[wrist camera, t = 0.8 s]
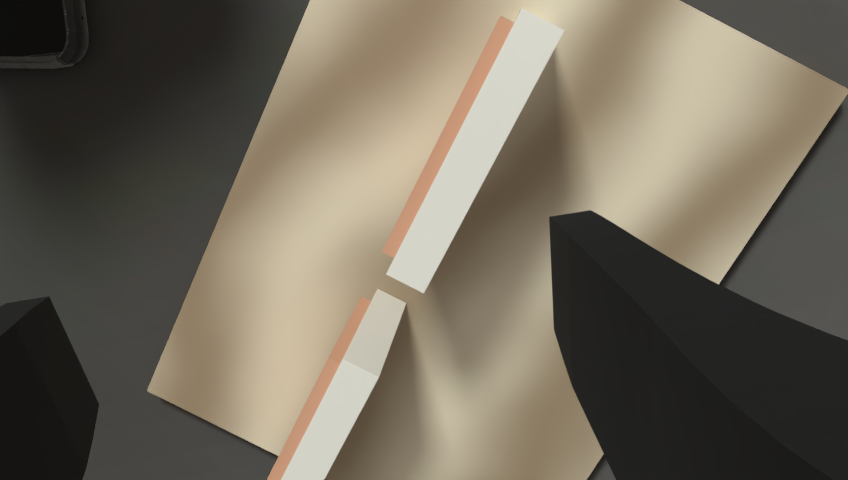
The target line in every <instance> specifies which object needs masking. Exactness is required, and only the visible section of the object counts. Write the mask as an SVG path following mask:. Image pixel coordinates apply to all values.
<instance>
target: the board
mask: <svg viewBox="0 0 848 480" xmlns="http://www.w3.org/2000/svg"><path fill="white" fill-rule="evenodd" d="M521 8H522V9H524V10H526V11H528V12H530V13H532V14H534V15H536V16H538V17H540V18H542V19H544V20H546V21H547V22H549V23H551V24H553V25H555V26H557V27H559V28H561V29H563V30H564V32H563V34H562V36H561V38H560V39H559V41H558V43H557V45H556V47H555V49H554V51H553V53H552V54H551V56H550V58H549V60H548V62H547V64H546V66H545V68H544V69H543V71H542V73H541V75H540V77H539V79H538V81H537V83H536V84H535V86H534V88H533V90H532V92H531V94H530V96H529V97H528V99H527V101H526V103H525V105H524V107H523V109H522V111H521V112H520V114H519V116H518V118H517V120H516V122H515V124H514V126H513V127H512V129H511V131H510V133H509V135H508V137H507V139H506V141H505V142H504V144H503V146H502V148H501V150H500V152H499V154H498V156H497V157H496V159H495V161H494V163H493V165H492V167H491V169H490V170H489V172H488V174H487V176H486V178H485V180H484V182H483V184H482V185H481V187H480V189H479V191H478V193H477V195H476V197H475V199H474V200H473V202H472V204H471V206H470V208H469V210H468V212H467V214H466V215H465V217H464V219H463V221H462V223H461V225H460V227H459V228H458V230H457V232H456V234H455V236H454V238H453V240H452V242H451V243H450V245H449V247H448V249H447V251H446V253H445V255H444V257H443V258H442V260H441V262H440V264H439V266H438V268H437V270H436V272H435V273H434V275H433V277H432V279H431V281H430V283H429V285H428V287H427V288H426V290H425V292H424V293H422V292H420V291H418V290H416V289H414V288H412V287H410V286H408V285H406V284H404V283H402V282H400V281H398V280H396V279H394V278H392V277H390V276H388V275H386V273H387V271H388V269H389V267H390V265H391V263H392V261H393V259H394V258H393V257H391V256H389V255H387V254H385V253H383V252H382V250H383V248H384V246H385V244H386V242H387V240H388V238H389V236H390V234H391V232H392V230H393V228H394V226H395V224H396V222H397V220H398V218H399V216H400V214H401V212H402V210H403V208H404V206H405V204H406V202H407V200H408V198H409V196H410V194H411V192H412V190H413V188H414V186H415V184H416V182H417V180H418V178H419V176H420V174H421V172H422V170H423V168H424V166H425V165H426V163H427V161H428V159H429V157H430V155H431V153H432V151H433V149H434V147H435V145H436V143H437V141H438V139H439V137H440V135H441V133H442V131H443V129H444V127H445V125H446V123H447V121H448V119H449V117H450V115H451V113H452V111H453V109H454V107H455V105H456V103H457V101H458V99H459V97H460V95H461V93H462V91H463V89H464V87H465V85H466V83H467V81H468V79H469V77H470V75H471V73H472V71H473V69H474V67H475V65H476V63H477V61H478V59H479V57H480V55H481V53H482V51H483V49H484V47H485V45H486V43H487V41H488V39H489V37H490V35H491V33H492V31H493V29H494V27H495V25H496V23H497V21H498V19H499V17H500V16H503V17H505V18H507V19H509V20H511V21H513V22H514V20H515V18H516V16H517V14H518V12H519V10H520V9H521ZM847 94H848V89H847V88H845V87H843V86H841V85H840V84H838V83H836V82H834V81H832V80H830V79H828V78H826V77H824V76H822V75H821V74H819V73H817V72H815V71H813V70H811V69H809V68H807V67H805V66H803V65H801V64H800V63H798V62H796V61H794V60H792V59H790V58H788V57H786V56H784V55H782V54H781V53H779V52H777V51H775V50H773V49H771V48H769V47H767V46H765V45H763V44H762V43H760V42H758V41H756V40H754V39H752V38H750V37H748V36H746V35H744V34H742V33H741V32H739V31H737V30H735V29H733V28H731V27H729V26H727V25H725V24H723V23H722V22H720V21H718V20H716V19H714V18H712V17H710V16H708V15H706V14H704V13H703V12H701V11H699V10H697V9H695V8H693V7H691V6H689V5H687V4H685V3H684V2H682V1H680V0H310V2H309V4H308V7H307V9H306V11H305V14H304V16H303V19H302V21H301V23H300V26H299V28H298V31H297V33H296V35H295V38H294V40H293V43H292V45H291V47H290V50H289V52H288V54H287V57H286V59H285V62H284V64H283V66H282V69H281V71H280V74H279V76H278V78H277V81H276V83H275V86H274V88H273V90H272V93H271V95H270V98H269V100H268V102H267V105H266V107H265V110H264V112H263V114H262V117H261V119H260V122H259V124H258V126H257V129H256V131H255V133H254V136H253V138H252V141H251V143H250V145H249V148H248V150H247V153H246V155H245V157H244V160H243V162H242V165H241V167H240V169H239V172H238V174H237V177H236V179H235V181H234V184H233V186H232V189H231V191H230V193H229V196H228V198H227V201H226V203H225V205H224V208H223V210H222V213H221V215H220V217H219V220H218V222H217V224H216V227H215V229H214V232H213V234H212V236H211V239H210V241H209V244H208V246H207V248H206V251H205V253H204V256H203V258H202V260H201V263H200V265H199V268H198V270H197V272H196V275H195V277H194V280H193V282H192V284H191V287H190V289H189V292H188V294H187V296H186V299H185V301H184V303H183V306H182V308H181V311H180V313H179V315H178V318H177V320H176V323H175V325H174V327H173V330H172V332H171V335H170V337H169V339H168V342H167V344H166V347H165V349H164V351H163V354H162V356H161V359H160V361H159V363H158V366H157V368H156V371H155V373H154V375H153V378H152V380H151V382H150V385H149V387H148V390H147V391H148V392H150V393H152V394H154V395H156V396H158V397H160V398H162V399H164V400H166V401H168V402H170V403H172V404H174V405H176V406H178V407H180V408H182V409H184V410H186V411H188V412H190V413H192V414H194V415H196V416H198V417H200V418H202V419H204V420H206V421H208V422H210V423H212V424H215V425H217V426H219V427H221V428H223V429H225V430H227V431H229V432H231V433H233V434H235V435H237V436H239V437H241V438H243V439H245V440H247V441H249V442H251V443H253V444H255V445H257V446H259V447H261V448H263V449H265V450H267V451H269V452H271V453H273V454H275V455H277V456H279V455H280V453H281V451H282V449H283V447H284V445H285V443H286V441H287V439H288V437H289V435H290V433H291V431H292V429H293V427H294V425H295V423H296V421H297V419H298V417H299V415H300V413H301V411H302V409H303V407H304V405H305V403H306V401H307V399H308V397H309V395H310V393H311V391H312V389H313V387H314V385H315V383H316V381H317V379H318V377H319V375H320V373H321V371H322V369H323V367H324V365H325V363H326V361H327V359H328V357H329V355H330V354H331V352H332V350H333V348H334V346H335V344H336V343H337V341H338V339H339V337H340V335H341V333H342V331H343V330H344V328H345V326H346V324H347V322H348V320H349V318H350V317H351V315H352V313H353V311H354V309H355V307H356V305H357V304H358V302H359V300H360V298H361V297H363V298H365V299H367V300H369V301H371V300H372V298H373V296H374V295H375V293H376V291H377V289H379V290H381V291H383V292H385V293H387V294H389V295H391V296H393V297H395V298H397V299H399V300H401V301H403V302H405V303H406V305H405V308H404V311H403V314H402V316H401V319H400V322H399V324H398V327H397V330H396V333H395V335H394V338H393V341H392V343H391V346H390V349H389V352H388V354H387V357H386V360H385V362H384V365H383V368H382V371H381V373H380V376H379V378H378V380H377V382H376V384H375V386H374V388H373V389H372V391H371V393H370V395H369V397H368V399H367V401H366V403H365V404H364V406H363V408H362V410H361V412H360V414H359V416H358V418H357V419H356V421H355V423H354V425H353V427H352V429H351V431H350V432H349V434H348V436H347V438H346V440H345V442H344V444H343V446H342V447H341V449H340V451H339V453H338V455H337V457H336V459H335V461H334V462H333V464H332V466H331V468H330V470H329V472H328V474H327V476H326V477H325V479H326V480H587V478H588V477H589V475H590V474H591V472H592V471H593V469H594V468H595V466H596V465H597V463H598V462H599V460H600V459H601V457H602V456H603V455H604V453H603V451H602V449H601V447H600V445H599V443H598V440H597V438H596V436H595V434H594V432H593V430H592V428H591V426H590V424H589V422H588V419H587V417H586V415H585V413H584V411H583V409H582V407H581V405H580V402H579V400H578V398H577V396H576V394H575V392H574V389H573V387H572V385H571V382H570V379H569V376H568V373H567V370H566V367H565V364H564V361H563V357H562V354H561V351H560V348H559V345H558V341H557V338H556V335H555V332H554V321H553V297H552V274H551V250H550V227H549V217H551V216H557V215H563V214H570V213H576V212H582V211H588V210H591V211H593V212H595V213H597V214H599V215H601V216H602V217H604V218H606V219H607V220H609V221H611V222H612V223H614V224H616V225H617V226H619V227H620V228H622V229H624V230H625V231H627V232H628V233H630V234H632V235H633V236H635V237H637V238H638V239H640V240H641V241H643V242H645V243H646V244H648V245H650V246H651V247H653V248H655V249H656V250H658V251H660V252H661V253H663V254H665V255H666V256H668V257H670V258H671V259H673V260H675V261H677V262H678V263H680V264H682V265H684V266H685V267H687V268H689V269H691V270H692V271H694V272H696V273H698V274H700V275H702V276H703V277H705V278H707V279H709V280H711V281H713V282H715V283H717V284H719V283H720V282H721V280H722V279H723V277H724V276H725V274H726V273H727V271H728V270H729V268H730V267H731V265H732V264H733V262H734V261H735V260H736V258H737V257H738V255H739V254H740V252H741V251H742V249H743V248H744V246H745V245H746V243H747V242H748V240H749V239H750V237H751V236H752V234H753V233H754V231H755V230H756V229H757V227H758V226H759V224H760V223H761V221H762V220H763V218H764V217H765V215H766V214H767V212H768V211H769V209H770V208H771V206H772V205H773V203H774V202H775V200H776V199H777V197H778V196H779V195H780V193H781V192H782V190H783V189H784V187H785V186H786V184H787V183H788V181H789V180H790V178H791V177H792V175H793V174H794V172H795V171H796V169H797V168H798V166H799V165H800V164H801V162H802V161H803V159H804V158H805V156H806V155H807V153H808V152H809V150H810V149H811V147H812V146H813V144H814V143H815V141H816V140H817V138H818V137H819V135H820V134H821V132H822V131H823V130H824V128H825V127H826V125H827V124H828V122H829V121H830V119H831V118H832V116H833V115H834V113H835V112H836V110H837V109H838V107H839V106H840V104H841V103H842V101H843V100H844V99H845V97H846V96H847Z"/></svg>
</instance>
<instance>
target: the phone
mask: <svg viewBox="0 0 848 480" xmlns="http://www.w3.org/2000/svg"><path fill="white" fill-rule="evenodd" d="M82 16H83V19H82ZM88 45H89V33H88V24H87V16H86V8H85V0H0V68H10V69H55V68H63V67H70V66H73V65H75V64H76V63H78V62H80V61H81V59H82V58H83V57H84V56H85V54H86V51H87V48H88Z"/></svg>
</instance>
